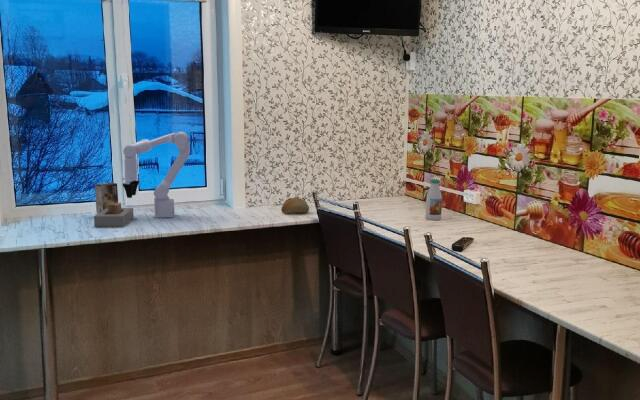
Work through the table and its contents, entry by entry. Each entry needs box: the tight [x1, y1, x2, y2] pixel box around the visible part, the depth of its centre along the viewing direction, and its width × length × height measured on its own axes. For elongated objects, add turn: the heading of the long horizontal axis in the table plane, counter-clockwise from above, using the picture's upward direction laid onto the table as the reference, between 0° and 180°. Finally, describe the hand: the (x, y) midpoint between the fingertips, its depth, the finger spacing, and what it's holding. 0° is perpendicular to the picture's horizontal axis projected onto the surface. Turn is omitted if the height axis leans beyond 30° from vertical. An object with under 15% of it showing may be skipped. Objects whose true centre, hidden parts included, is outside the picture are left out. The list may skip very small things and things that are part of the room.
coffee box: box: [94, 182, 119, 215], centre depth 293 cm, size 9×6×16 cm
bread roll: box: [280, 197, 310, 214], centre depth 303 cm, size 10×15×8 cm, turn 112°
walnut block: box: [108, 202, 122, 214], centre depth 278 cm, size 5×5×9 cm
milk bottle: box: [425, 178, 443, 221], centre depth 290 cm, size 8×8×20 cm
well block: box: [93, 207, 135, 228], centre depth 278 cm, size 13×20×5 cm, turn 4°
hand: (131, 196), depth 289 cm, fingers open, 7 cm apart
